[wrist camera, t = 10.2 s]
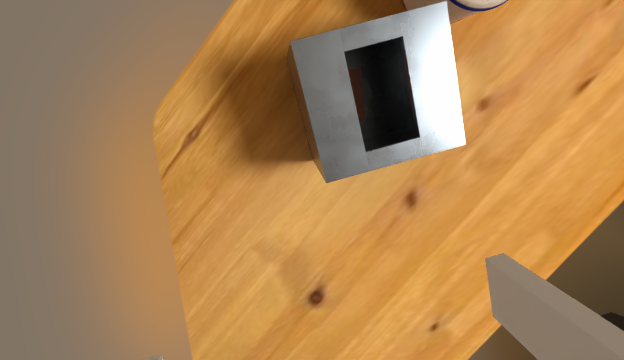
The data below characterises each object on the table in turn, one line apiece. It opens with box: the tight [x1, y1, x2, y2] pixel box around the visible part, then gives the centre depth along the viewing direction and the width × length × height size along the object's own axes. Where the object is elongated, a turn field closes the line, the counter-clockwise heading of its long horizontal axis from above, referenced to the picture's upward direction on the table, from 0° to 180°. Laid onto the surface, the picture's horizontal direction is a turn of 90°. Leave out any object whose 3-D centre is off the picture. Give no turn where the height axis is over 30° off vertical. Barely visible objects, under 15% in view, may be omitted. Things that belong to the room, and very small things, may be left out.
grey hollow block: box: [287, 1, 466, 183], centre depth 33 cm, size 13×12×11 cm
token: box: [348, 68, 366, 122], centre depth 34 cm, size 2×6×6 cm
